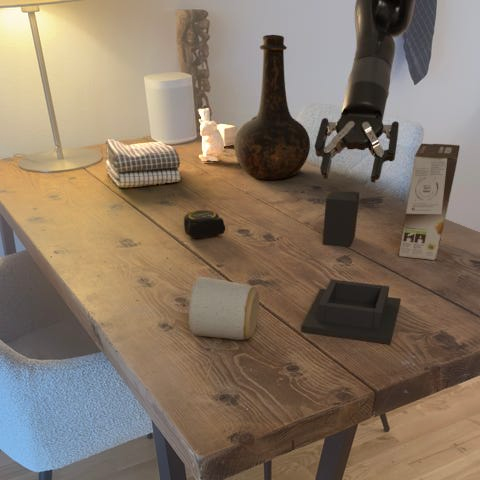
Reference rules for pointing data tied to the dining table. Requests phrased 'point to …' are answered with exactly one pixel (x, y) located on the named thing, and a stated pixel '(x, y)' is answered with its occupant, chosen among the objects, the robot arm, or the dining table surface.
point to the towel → (142, 163)
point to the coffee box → (428, 200)
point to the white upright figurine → (210, 137)
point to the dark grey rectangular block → (340, 218)
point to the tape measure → (203, 224)
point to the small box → (227, 133)
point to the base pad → (353, 312)
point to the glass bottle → (272, 124)
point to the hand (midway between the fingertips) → (348, 178)
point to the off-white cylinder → (223, 309)
